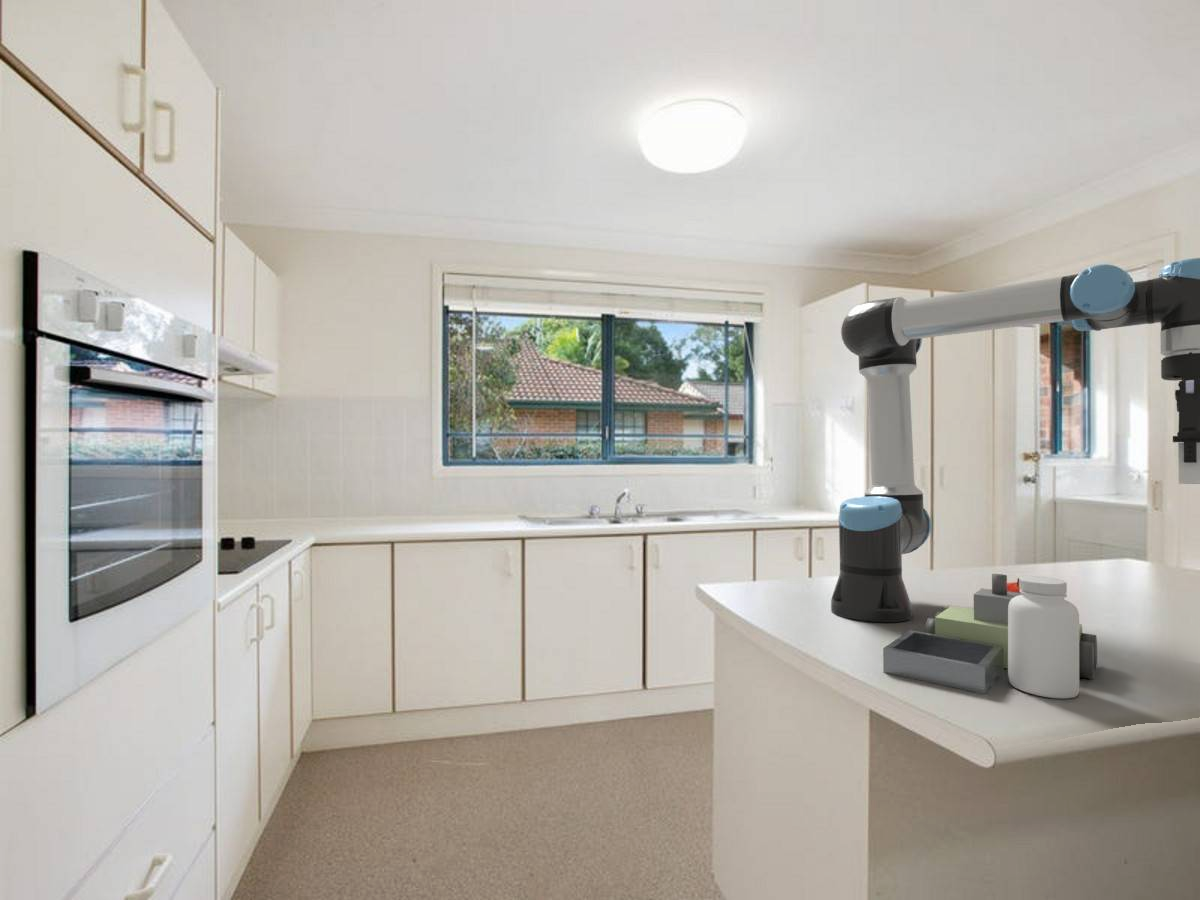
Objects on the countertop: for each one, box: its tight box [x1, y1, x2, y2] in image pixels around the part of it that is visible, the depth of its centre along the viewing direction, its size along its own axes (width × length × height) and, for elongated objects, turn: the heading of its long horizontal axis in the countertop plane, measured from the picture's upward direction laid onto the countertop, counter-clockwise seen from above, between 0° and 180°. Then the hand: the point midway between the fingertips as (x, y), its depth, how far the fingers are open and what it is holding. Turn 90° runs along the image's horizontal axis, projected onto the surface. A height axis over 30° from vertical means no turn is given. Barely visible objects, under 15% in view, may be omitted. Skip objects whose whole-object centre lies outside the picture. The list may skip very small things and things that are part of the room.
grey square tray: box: [882, 629, 1005, 695], centre depth 92 cm, size 13×13×4 cm
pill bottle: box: [1007, 575, 1080, 699], centre depth 85 cm, size 8×8×15 cm
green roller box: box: [924, 573, 1098, 680], centre depth 98 cm, size 21×11×13 cm, turn 48°
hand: (1192, 482), depth 103 cm, fingers open, 13 cm apart
